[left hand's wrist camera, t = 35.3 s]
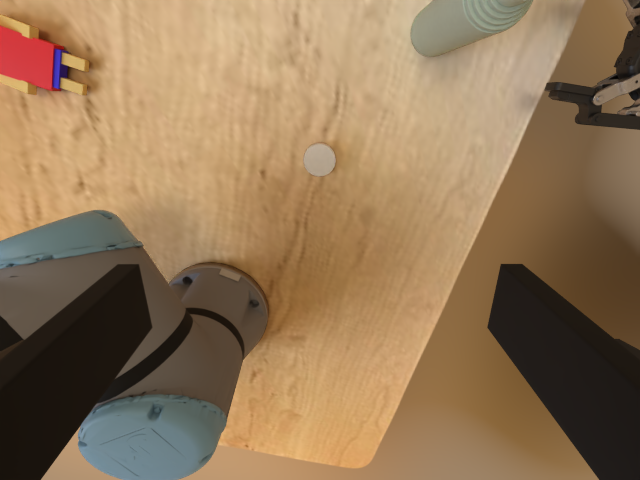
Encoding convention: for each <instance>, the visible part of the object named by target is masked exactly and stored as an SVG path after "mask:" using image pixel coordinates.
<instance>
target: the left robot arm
mask: <svg viewBox="0 0 640 480" xmlns="http://www.w3.org/2000/svg"><path fill="white" fill-rule="evenodd" d="M142 246H144V245H143V244H142V242H140V241H138V240H137V239H136V238H135V237H134V236H133V234H132V233H131V232H130V231H129V230H128V228H127V227H126V226H125V224H124V223H123V222H122V221H121V219H120V218H119V217H118V216H116V215H115V214H113V213H111V212H108V211H104V210H93V211H88V212H85V213H81V214H78V215H74V216H71V217H68V218H65V219H61V220H58V221H55V222H52V223H49V224H46V225H43V226H40V227H37V228H35V229H32V230H29V231H26V232H23V233H21V234H18V235H15V236H12V237H10V238H7V239H5V240H2V241H0V480H41V478H42V477H43V476H44V474H45V473H46V472H47V470H48V469H49V468H50V466H51V465H52V464H53V462H54V461H55V459H56V458H57V457H58V455H59V454H60V453H61V451H62V450H63V449H64V447H65V446H66V445H67V443H68V442H69V440H70V439H71V438H72V436H73V435H74V434H75V432H76V431H77V430H78V428H79V427H80V426H81V427H80V430H79V433H78V439H79V442H78V447H79V450H80V452H81V454H82V455H83V456H84V458H85V459H86V460H87V461H88V462H89V463H90V464H91V465H93V466H94V467H95V468H97V469H98V470H100V471H102V472H104V473H106V474H108V475H110V476H113V477H116V478H119V479H123V480H177V479H181V478H184V477H186V476H189V475H191V474H193V473H194V472H196V471H198V470H199V469H200V468H202V467H203V466H204V465H205V464H206V463H207V462H208V461H209V460H210V458H211V457H212V455H213V453H214V452H215V449H216V447H217V444H218V441H219V438H220V435H221V433H222V432H223V430H224V428H225V426H226V423H227V417H228V413H229V410H230V406H231V402H232V399H233V395H234V391H235V388H236V384H237V380H238V377H239V373H240V369H241V366H242V362H243V359H244V358H245V357H246V356H247V355H248V354H249V353H250V351H251V350H252V349H253V348H254V347H255V346H256V345H257V343H258V342H259V341H260V339H261V337H262V335H263V333H264V331H265V329H266V325H267V321H268V314H269V312H268V303H267V300H266V297H265V295H264V293H263V291H262V289H261V288H260V286H259V285H258V284H257V283H256V282H255V281H254V280H253V279H252V278H251V277H250V276H249V275H247V274H246V273H244V272H243V271H241V270H239V269H237V268H234V267H232V266H229V265H225V264H220V263H202V264H197V265H193V266H190V267H188V268H186V269H184V270H183V271H181V272H180V273H178V274H177V275H176V276H175V277H174V278H173V279H172V280H171V282H170V283H169V284H168V283H167V281H166V280H165V278H164V277H163V276H162V274H161V273H160V271H159V270H158V268H157V267H156V265H155V264H154V263H153V261H152V260H151V258H150V257H149V255H148V254H147V252H146V251H145V250H144V248H143V247H142ZM488 329H489V330H490V332H491V333H492V334H493V336H494V337H495V338H496V340H497V341H498V343H499V344H500V345H501V347H502V348H503V349H504V351H505V352H506V353H507V355H508V356H509V358H510V359H511V360H512V362H513V363H514V364H515V366H516V367H517V368H518V370H519V371H520V373H521V374H522V375H523V377H524V378H525V379H526V381H527V382H528V383H529V385H530V386H531V387H532V389H533V390H534V392H535V393H536V394H537V396H538V397H539V398H540V400H541V401H542V402H543V404H544V405H545V407H546V408H547V409H548V411H549V412H550V413H551V415H552V416H553V417H554V419H555V420H556V421H557V423H558V424H559V426H560V427H561V428H562V430H563V431H564V432H565V434H566V435H567V436H568V438H569V439H570V441H571V442H572V443H573V445H574V446H575V447H576V449H577V450H578V451H579V453H580V454H581V455H582V457H583V458H584V460H585V461H586V462H587V464H588V465H589V466H590V468H591V469H592V470H593V472H594V473H595V474H596V476H597V477H598V478H599V480H640V350H638V349H637V348H635V347H633V346H631V345H629V344H627V343H625V342H623V341H622V340H620V339H614V338H612V337H611V336H610V335H609V334H608V333H606V332H605V331H604V330H603V329H601V328H600V327H599V326H598V325H597V324H595V323H594V322H593V321H592V320H590V319H589V318H588V317H587V316H585V315H584V314H583V313H582V312H580V311H579V310H578V309H577V308H576V307H574V306H573V305H572V304H571V303H569V302H568V301H567V300H566V299H564V298H563V297H562V296H561V295H560V294H558V293H557V292H556V291H555V290H553V289H552V288H551V287H550V286H548V285H547V284H546V283H545V282H544V281H542V280H541V279H540V278H539V277H537V276H536V275H535V274H534V273H532V272H531V271H530V270H529V269H528V268H526V267H525V266H524V265H523V264H501V266H500V271H499V276H498V280H497V285H496V290H495V294H494V299H493V304H492V308H491V313H490V318H489V322H488Z"/></svg>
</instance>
